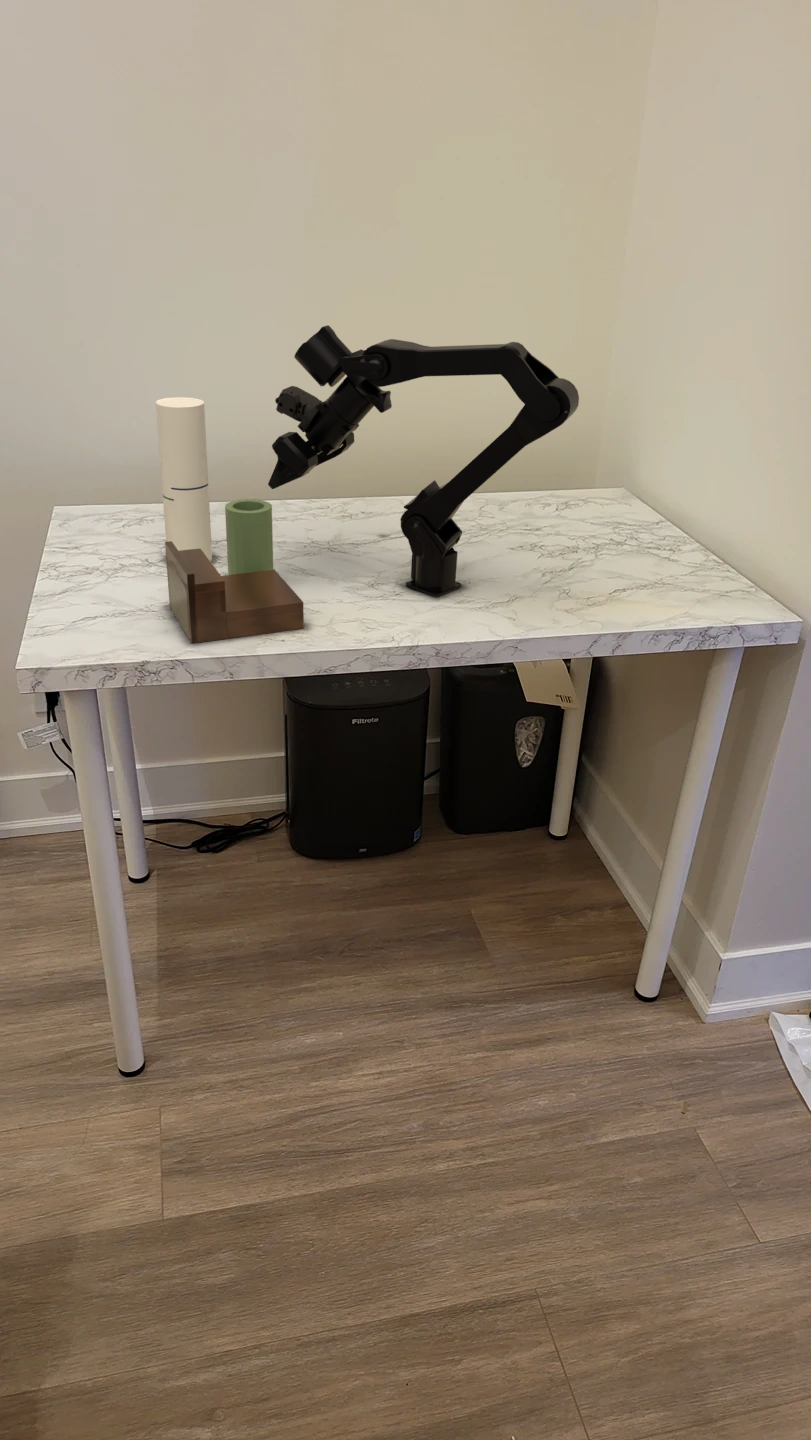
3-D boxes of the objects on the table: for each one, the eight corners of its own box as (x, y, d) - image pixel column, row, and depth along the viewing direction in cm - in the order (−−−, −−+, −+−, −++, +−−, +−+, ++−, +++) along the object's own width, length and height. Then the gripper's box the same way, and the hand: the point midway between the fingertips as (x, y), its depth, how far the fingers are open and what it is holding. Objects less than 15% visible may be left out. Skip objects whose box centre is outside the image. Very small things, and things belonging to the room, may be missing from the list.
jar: (282, 585, 160) (281, 506, 154) (249, 596, 155) (246, 515, 149) (253, 573, 164) (250, 496, 158) (219, 584, 159) (215, 505, 153)
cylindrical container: (202, 569, 164) (193, 409, 152) (160, 564, 165) (147, 405, 153) (218, 554, 170) (211, 399, 158) (177, 549, 171) (167, 395, 159)
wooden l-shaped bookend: (275, 594, 156) (273, 530, 151) (303, 628, 146) (303, 561, 141) (169, 607, 150) (164, 541, 146) (191, 643, 140) (186, 574, 135)
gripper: (331, 359, 160) (274, 428, 169) (278, 379, 145) (218, 454, 153) (381, 413, 161) (321, 478, 170) (333, 439, 146) (270, 510, 155)
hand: (283, 479), depth 162 cm, fingers open, 9 cm apart
